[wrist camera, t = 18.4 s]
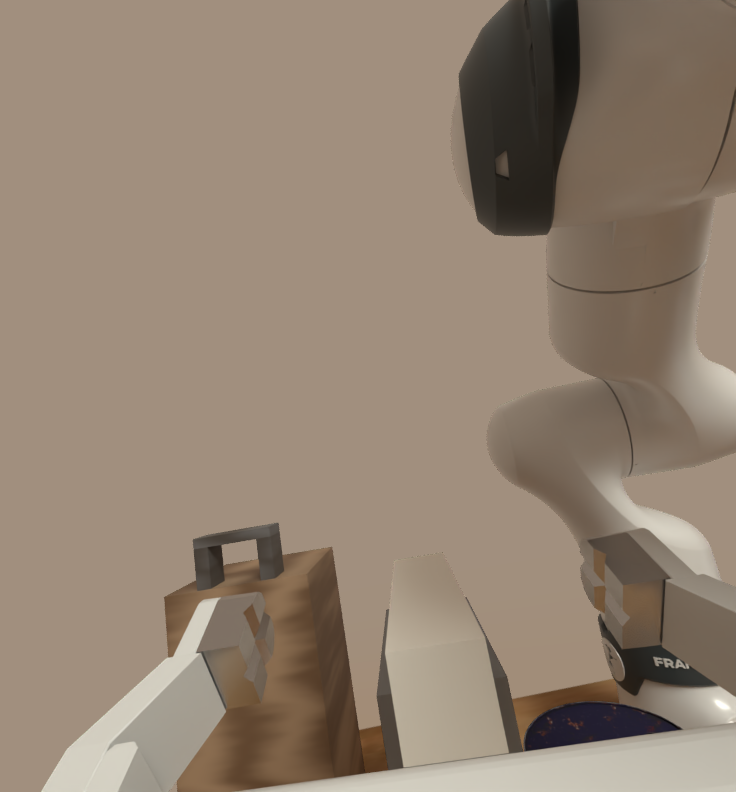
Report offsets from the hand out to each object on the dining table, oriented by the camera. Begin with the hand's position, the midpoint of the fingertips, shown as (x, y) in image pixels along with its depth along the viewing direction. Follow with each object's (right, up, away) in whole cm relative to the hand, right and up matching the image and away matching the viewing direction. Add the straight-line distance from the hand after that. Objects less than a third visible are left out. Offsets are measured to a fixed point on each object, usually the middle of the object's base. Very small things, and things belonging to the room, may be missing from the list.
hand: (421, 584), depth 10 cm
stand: (-7, -37, +24) cm, 44 cm away
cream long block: (+2, -7, +8) cm, 10 cm away
